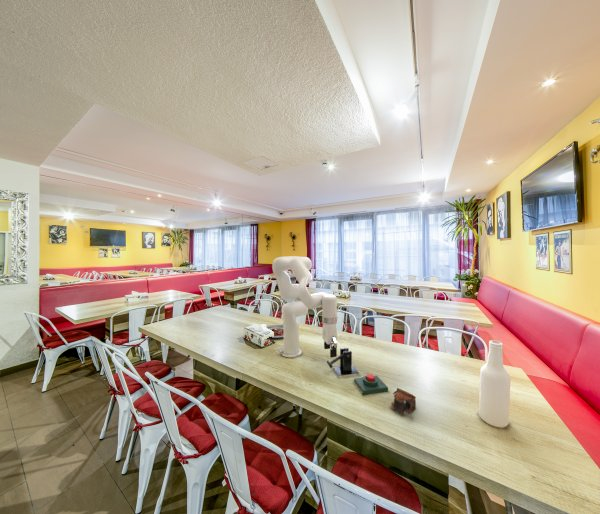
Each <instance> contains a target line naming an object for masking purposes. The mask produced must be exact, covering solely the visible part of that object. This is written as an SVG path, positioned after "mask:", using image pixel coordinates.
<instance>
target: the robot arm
mask: <svg viewBox="0 0 600 514" xmlns="http://www.w3.org/2000/svg"><path fill="white" fill-rule="evenodd" d="M271 265H272V266H271V268H272V273H273V275H274V277H275V279H276V283H277V287H278V291H279V295H280V298H281V300H283V301H289V302H286V303H284V304H282V306H281V316H282V323H283V324H282V325H283V329H284V337H283V344H282V346H280V347H279V346H277V347H275V351H277V352H278V353H281V356H283V357H285V358H288V359H289V358H290V359H291V358H293V359H294V358H297V357H299V356H301V355H302V353H303V350H302V349H301V348H300V324H299V321H298V320H297V318H298V317H301V316H305V315H307V314H308V312H309V310H314V309H315V310H316V309H319V308H321V315H322V317H321V319H322V320H321V321H322V322H321V323H322V332H321V333H322V335H321V337H322V340H323V349H324V350H329V357H330V358H337V357H338V350H337V349H338V332H337V324H338V298H337V296H336V295H334V294H328V293H326V292H316V293H311V292H310V291H309V290H308V287H307V285H309V284H310V282H312V280H313V275H312V273H311V271H310V270H311V269H312V267H313V262H312V260H311V259H310V258H309V257H307V256H300V255H299V256H298V255H291V256H288V255H287V256H279V257H276V258H275V259H273V261H272V264H271ZM286 271H291V272H292V274H293V275H294V277H295V279H296V281H297V282H298V283H292V280H291V277H290V275H289V274H288V273H287V272H286ZM292 300H295V301H292Z"/></svg>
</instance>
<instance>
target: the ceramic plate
mask: <svg viewBox="0 0 600 514" xmlns="http://www.w3.org/2000/svg"><path fill="white" fill-rule="evenodd" d="M266 327H267V328H268V329H270V330H272V331H273V332H274V337H273V338H275V339H276V338H284V329H283V324H273V325H267V326H266Z"/></svg>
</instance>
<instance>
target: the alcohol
mask: <svg viewBox="0 0 600 514" xmlns="http://www.w3.org/2000/svg"><path fill="white" fill-rule="evenodd" d="M503 345H504V343H502V341H499V340H494V339H490V340H489V341H488V354H487V359H486V360H487V361H486V363H485V364H484V365H482V366H481V368H480V369H479V392H478V393H479V394H478V415H479V417H480V418H481V419H482V421H484V423H486V424H488V425H490V426H492V427H496V428H506V427H507V426H508V425H509V423H510V420H509V419H510V400H511V399H510V398H511V378H510V374H509V372H508V370H507V369H506V368H505V366H504V356H503V354H504V353H503V349H504V347H503Z"/></svg>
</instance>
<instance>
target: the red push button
mask: <svg viewBox="0 0 600 514" xmlns="http://www.w3.org/2000/svg"><path fill="white" fill-rule="evenodd" d="M366 375H367V380H368V381H371V382H373V381H375V376H376V375H374V374H371V373H368V374H366Z"/></svg>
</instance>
